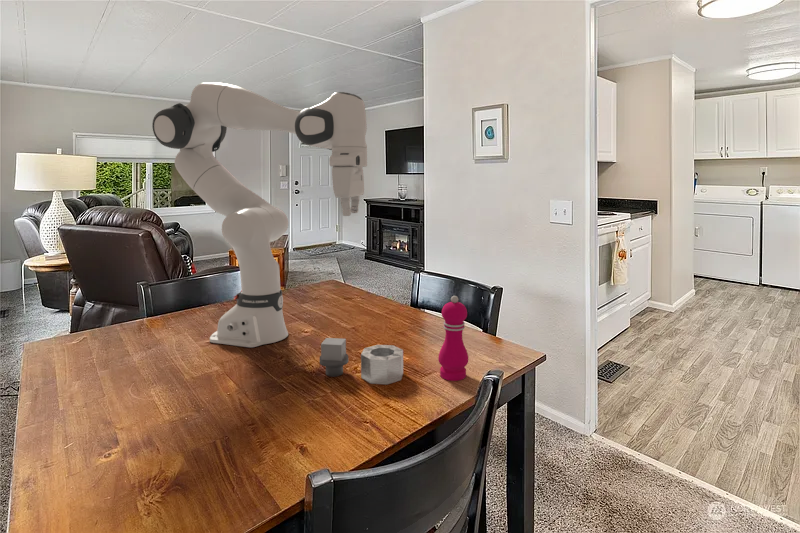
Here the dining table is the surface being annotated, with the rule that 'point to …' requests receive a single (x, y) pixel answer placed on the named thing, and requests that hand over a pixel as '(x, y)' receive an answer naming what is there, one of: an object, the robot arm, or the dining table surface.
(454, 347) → the pepper mill
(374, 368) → the grey octagonal nut
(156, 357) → the dining table surface
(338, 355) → the grey stepped piece
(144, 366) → the dining table surface
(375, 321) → the dining table surface
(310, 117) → the robot arm
